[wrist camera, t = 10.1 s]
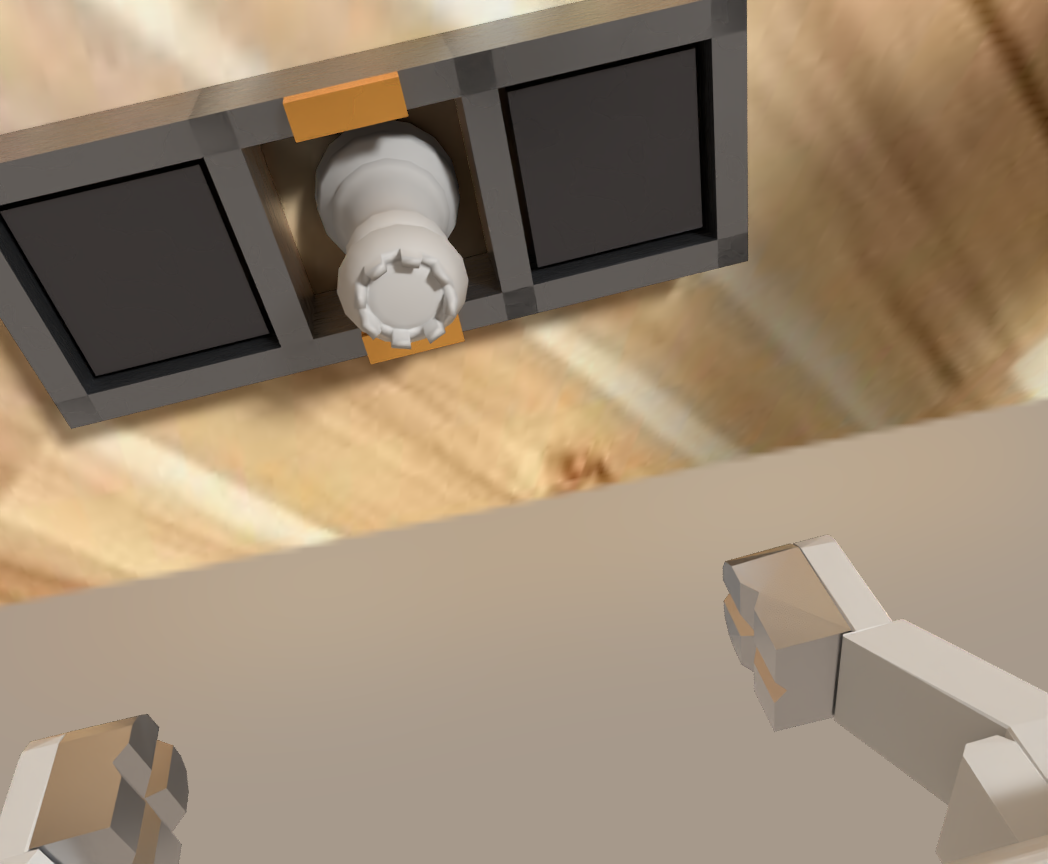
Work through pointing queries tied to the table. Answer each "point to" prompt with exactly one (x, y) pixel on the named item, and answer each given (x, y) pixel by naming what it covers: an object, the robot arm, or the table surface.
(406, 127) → the rook chess piece
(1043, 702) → the robot arm
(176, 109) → the rack
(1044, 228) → the table surface
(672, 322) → the table surface
